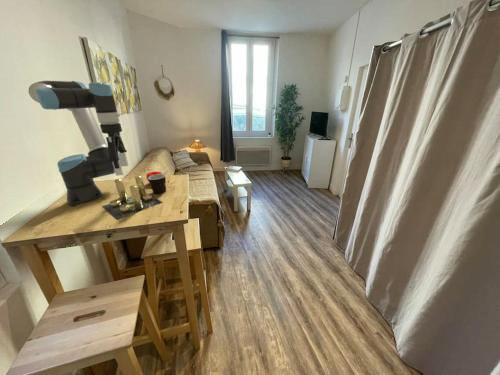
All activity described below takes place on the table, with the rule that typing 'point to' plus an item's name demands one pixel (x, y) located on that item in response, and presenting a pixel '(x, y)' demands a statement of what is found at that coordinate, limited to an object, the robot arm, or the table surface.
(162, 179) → the coffee mug
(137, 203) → the knob front
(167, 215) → the table surface
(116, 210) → the levelling plate
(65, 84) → the robot arm
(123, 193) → the knob back
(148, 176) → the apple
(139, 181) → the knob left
